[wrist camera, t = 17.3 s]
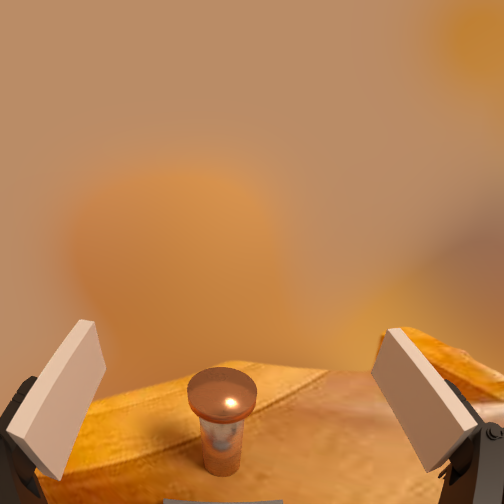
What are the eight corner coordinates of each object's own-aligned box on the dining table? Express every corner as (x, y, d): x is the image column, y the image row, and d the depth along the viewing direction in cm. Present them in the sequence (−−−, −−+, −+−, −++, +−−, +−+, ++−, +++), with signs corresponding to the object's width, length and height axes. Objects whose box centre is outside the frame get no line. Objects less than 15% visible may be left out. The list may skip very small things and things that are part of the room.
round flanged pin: (245, 444, 35) (253, 367, 30) (248, 482, 28) (260, 414, 23) (197, 443, 34) (189, 365, 29) (196, 481, 28) (184, 413, 22)
